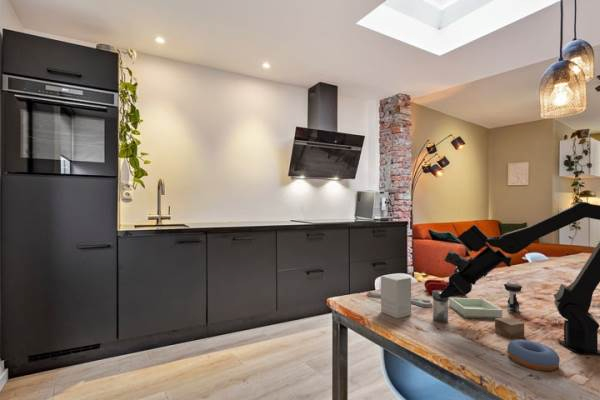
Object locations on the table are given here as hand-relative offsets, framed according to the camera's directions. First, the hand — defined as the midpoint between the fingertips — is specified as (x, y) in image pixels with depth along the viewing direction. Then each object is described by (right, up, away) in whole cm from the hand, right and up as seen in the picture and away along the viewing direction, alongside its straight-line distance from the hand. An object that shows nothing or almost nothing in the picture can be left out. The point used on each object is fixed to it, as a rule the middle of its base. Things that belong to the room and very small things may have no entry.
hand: (442, 293), depth 97 cm
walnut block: (+15, -9, -10) cm, 20 cm away
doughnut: (+9, -9, -25) cm, 28 cm away
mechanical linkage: (+16, -10, +30) cm, 36 cm away
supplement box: (-13, -9, +6) cm, 17 cm away
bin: (+15, -9, +8) cm, 19 cm away
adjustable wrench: (-7, -10, +21) cm, 25 cm away
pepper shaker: (-1, -9, 0) cm, 9 cm away
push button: (+29, -9, +9) cm, 32 cm away
